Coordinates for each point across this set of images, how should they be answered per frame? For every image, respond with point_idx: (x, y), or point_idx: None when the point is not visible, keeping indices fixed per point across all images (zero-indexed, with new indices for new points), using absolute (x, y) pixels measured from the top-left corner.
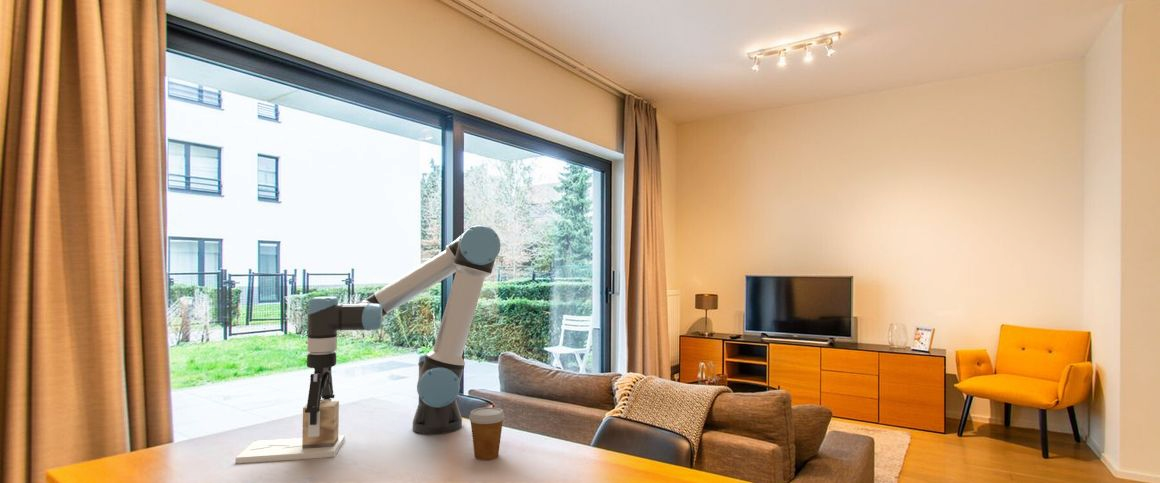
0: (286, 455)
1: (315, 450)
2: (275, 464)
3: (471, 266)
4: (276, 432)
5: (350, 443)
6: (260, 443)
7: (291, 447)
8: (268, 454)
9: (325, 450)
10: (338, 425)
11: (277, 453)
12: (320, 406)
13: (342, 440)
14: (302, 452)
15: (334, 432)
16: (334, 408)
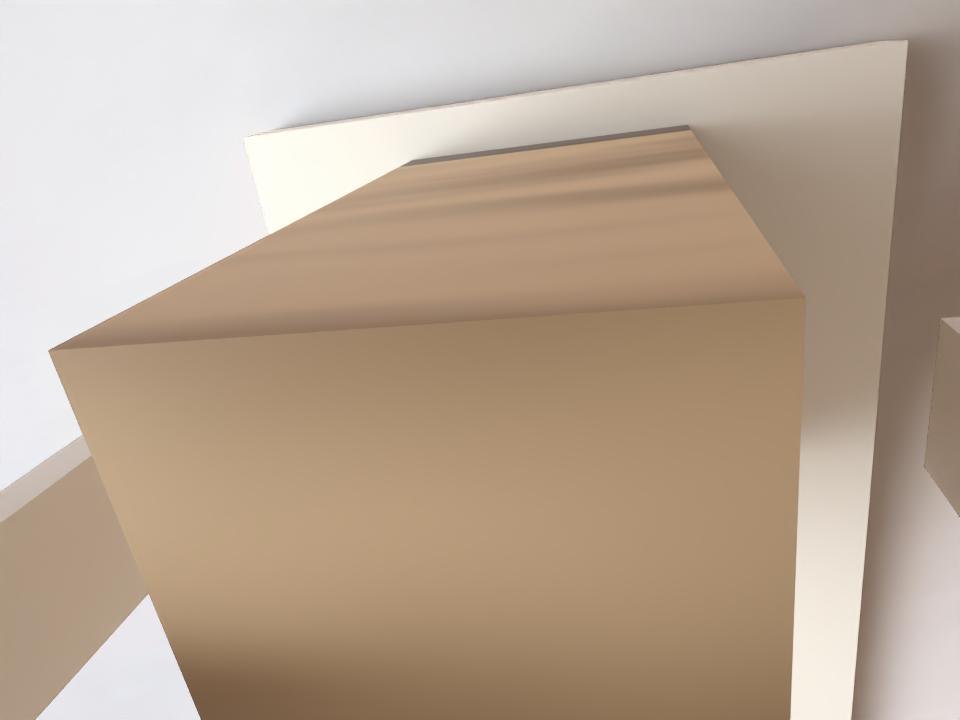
0: (863, 543)
1: (805, 303)
2: (956, 569)
3: None
4: (134, 716)
5: (363, 19)
6: None
7: None
8: (821, 683)
9: (838, 180)
10: (348, 193)
11: (809, 625)
12: (722, 700)
13: (380, 116)
14: (847, 421)
15: (655, 153)
16: (739, 272)
